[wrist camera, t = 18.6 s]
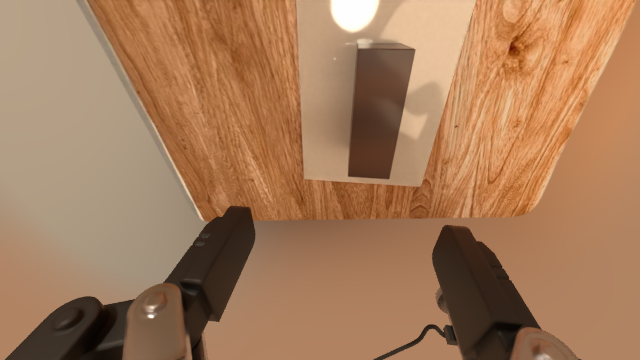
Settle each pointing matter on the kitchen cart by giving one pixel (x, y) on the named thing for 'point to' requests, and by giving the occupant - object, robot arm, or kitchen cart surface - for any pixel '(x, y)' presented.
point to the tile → (339, 70)
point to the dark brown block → (377, 107)
